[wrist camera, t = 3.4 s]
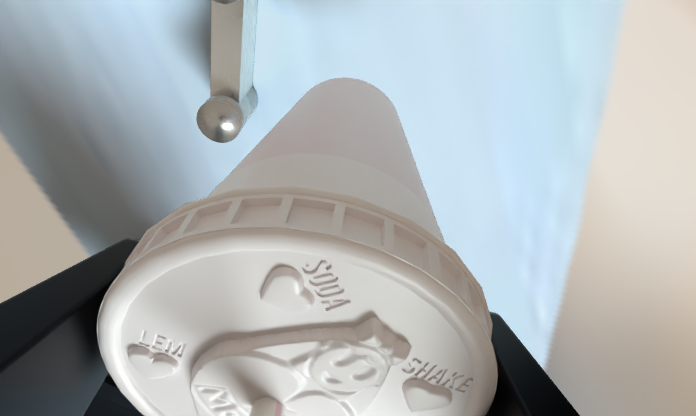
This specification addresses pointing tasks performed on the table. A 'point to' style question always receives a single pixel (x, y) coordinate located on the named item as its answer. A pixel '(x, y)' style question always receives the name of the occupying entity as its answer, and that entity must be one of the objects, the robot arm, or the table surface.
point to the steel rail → (230, 70)
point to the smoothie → (304, 284)
